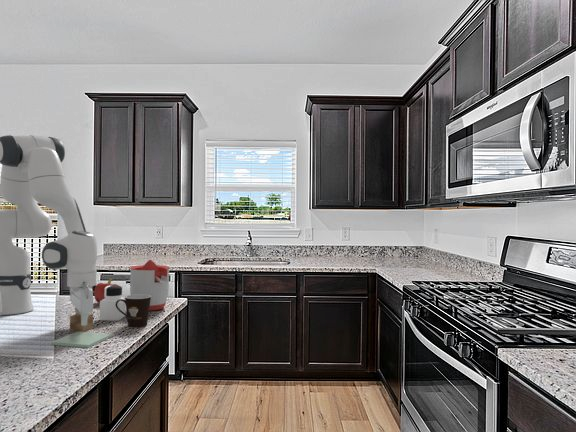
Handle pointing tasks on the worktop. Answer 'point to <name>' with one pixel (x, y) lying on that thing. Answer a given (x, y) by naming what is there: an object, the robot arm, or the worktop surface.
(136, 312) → the coffee mug
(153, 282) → the citrus juicer
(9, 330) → the worktop surface
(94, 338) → the plate
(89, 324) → the walnut cube
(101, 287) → the vegetable
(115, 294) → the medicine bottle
